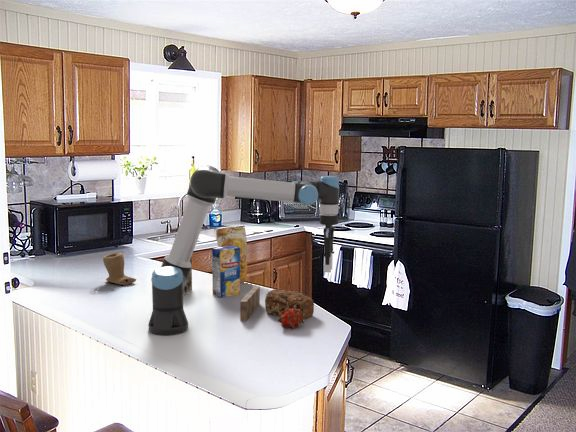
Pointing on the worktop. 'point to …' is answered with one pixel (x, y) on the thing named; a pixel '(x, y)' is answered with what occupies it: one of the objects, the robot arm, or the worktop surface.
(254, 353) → the worktop surface
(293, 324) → the dragon fruit
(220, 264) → the beverage box
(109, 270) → the tan boot figurine
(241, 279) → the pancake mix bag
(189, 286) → the coffee box
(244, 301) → the walnut board
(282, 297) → the bread
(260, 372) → the worktop surface
